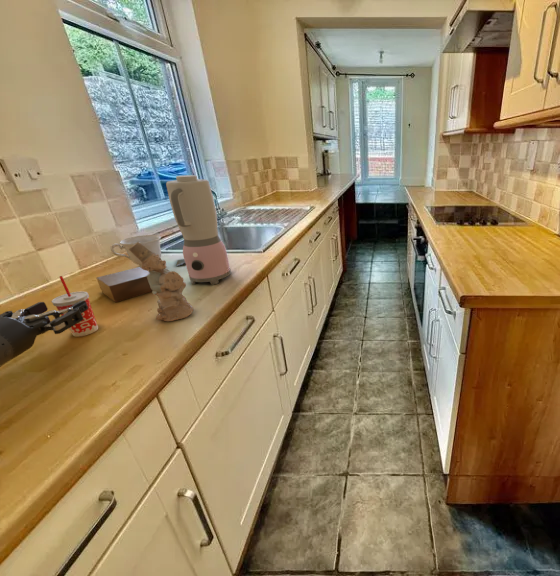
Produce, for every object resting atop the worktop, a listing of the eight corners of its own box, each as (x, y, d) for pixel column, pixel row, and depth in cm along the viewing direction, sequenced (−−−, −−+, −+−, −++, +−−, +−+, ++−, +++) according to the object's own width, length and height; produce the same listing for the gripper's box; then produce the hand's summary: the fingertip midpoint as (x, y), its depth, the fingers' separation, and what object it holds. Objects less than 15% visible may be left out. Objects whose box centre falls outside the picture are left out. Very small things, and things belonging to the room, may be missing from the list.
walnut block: (115, 302, 89) (109, 286, 87) (102, 293, 95) (96, 277, 93) (159, 289, 97) (154, 274, 95) (144, 281, 103) (139, 266, 101)
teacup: (117, 267, 115) (107, 240, 110) (165, 258, 124) (157, 233, 120) (120, 276, 106) (110, 248, 102) (171, 266, 116) (163, 239, 111)
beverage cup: (68, 341, 71) (40, 284, 65) (68, 330, 75) (41, 276, 69) (103, 331, 75) (79, 276, 69) (101, 321, 79) (78, 269, 73)
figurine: (146, 322, 79) (118, 244, 71) (172, 306, 86) (149, 234, 78) (179, 324, 78) (154, 245, 69) (202, 308, 85) (182, 235, 77)
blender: (202, 271, 110) (177, 174, 97) (237, 271, 111) (217, 174, 97) (176, 290, 96) (143, 179, 83) (217, 289, 96) (190, 179, 83)
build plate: (176, 266, 115) (172, 254, 113) (178, 261, 121) (174, 249, 119) (214, 261, 120) (211, 249, 118) (214, 255, 126) (211, 244, 124)
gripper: (20, 327, 54) (92, 288, 69) (-71, 331, 53) (22, 290, 68) (39, 363, 57) (105, 318, 72) (-46, 367, 56) (38, 320, 71)
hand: (64, 305), depth 70 cm, fingers open, 8 cm apart
